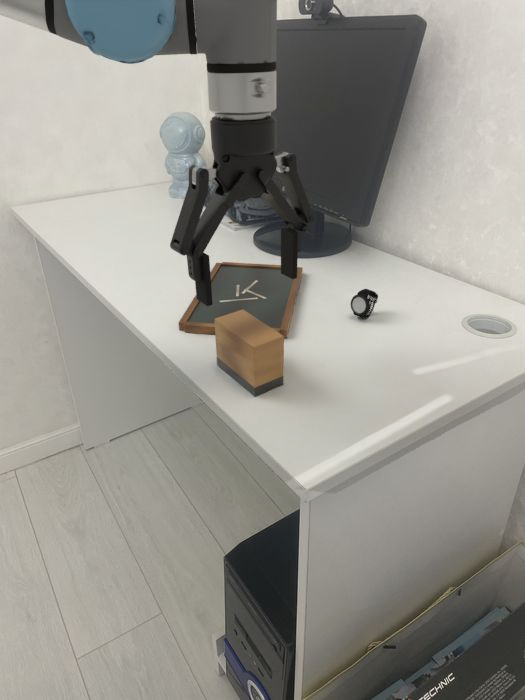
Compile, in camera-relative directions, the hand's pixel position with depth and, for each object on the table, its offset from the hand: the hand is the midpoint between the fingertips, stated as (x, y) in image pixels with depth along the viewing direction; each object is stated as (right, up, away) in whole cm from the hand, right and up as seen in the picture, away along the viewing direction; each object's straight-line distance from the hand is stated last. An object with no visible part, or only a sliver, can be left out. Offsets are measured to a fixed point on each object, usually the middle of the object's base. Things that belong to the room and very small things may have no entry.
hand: (248, 288), depth 69 cm
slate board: (-1, +1, +29) cm, 29 cm away
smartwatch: (+20, -3, +23) cm, 30 cm away
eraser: (0, -12, +7) cm, 14 cm away
